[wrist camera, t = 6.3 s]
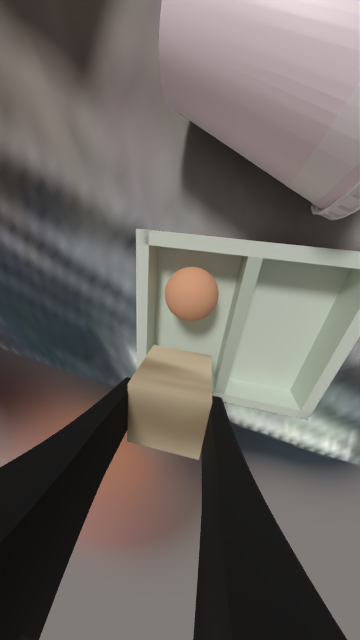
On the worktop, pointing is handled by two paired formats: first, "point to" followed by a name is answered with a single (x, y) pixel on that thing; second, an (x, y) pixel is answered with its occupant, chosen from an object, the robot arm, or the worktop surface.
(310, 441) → the worktop surface
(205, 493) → the robot arm
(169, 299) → the terracotta ball
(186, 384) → the maple block
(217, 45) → the smoothie
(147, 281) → the tray
